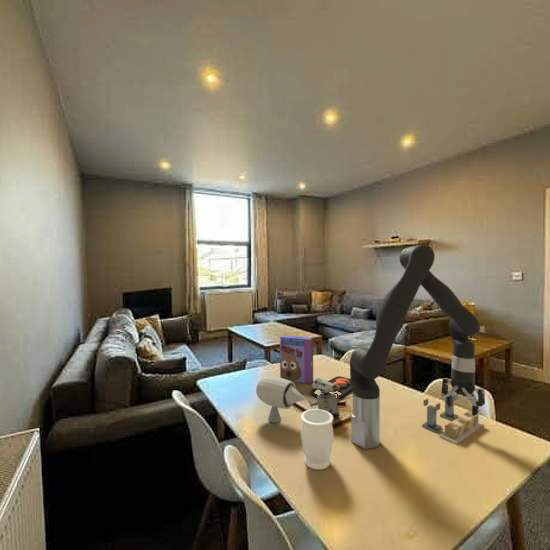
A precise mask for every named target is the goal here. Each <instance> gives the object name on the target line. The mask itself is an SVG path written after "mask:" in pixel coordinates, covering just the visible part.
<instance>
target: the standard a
mask: <svg viewBox="0 0 550 550" xmlns="http://www.w3.org/2000/svg"><path fill="white" fill-rule="evenodd" d="M423 406H424V407H426V421H425V422H424V423H422V424H421V427H422V428H424V429H426V430H428V431H431V432H433V433H436V432H438V431H439V430H441V429H442V425H440V424H438V423H437V411H439V410H441V403H440V402H438V403H436V404H435V405H431V404H430V405H429V399H428V398H425V399H424V400H423Z"/></svg>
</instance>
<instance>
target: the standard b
mask: <svg viewBox="0 0 550 550" xmlns="http://www.w3.org/2000/svg"><path fill="white" fill-rule="evenodd" d="M458 395H459V394H457V393H454V394H453V395H452V396H453V404H452V406H451V407H449V406H448V405H447V396H446V395H445V394H443V393H442V392H441V397H443V398H444V397H445V398H444V412H442V413H440V414H439V416H440V418H441V417H442V418H443V419H447V420H449V421H450V422H452V421H454V420H455V419H457V418H458V417H460V416H459V414H456V413H455V401H457V400H459V399H458V398H459V397H458Z"/></svg>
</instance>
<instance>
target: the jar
mask: <svg viewBox="0 0 550 550" xmlns="http://www.w3.org/2000/svg"><path fill="white" fill-rule="evenodd" d="M300 419H301V426H300V427H301V429H300V439H301V445H302V451H303V454H304V459H303V461H304V463H305V465H306V466H307V467H309V469H312V470H316V471H317V470H324V469H326V468H328V467H329V466H330V465H331V459H330V457H331V454H332V452H333V451H332V450H333V444H334V427H333V422H334V415H332V414H331V413H329V412H327V411H325V410H321V409H318V408H311V409H307V410H305V411H303V412H302V413H301V414H300Z"/></svg>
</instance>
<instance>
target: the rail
mask: <svg viewBox="0 0 550 550" xmlns="http://www.w3.org/2000/svg"><path fill="white" fill-rule="evenodd" d="M478 422H479V413H478V414H477V415H475V416H473V415H472V410H471V411H470V410H467V412H465V413H463V414H461V415H460V416H459V417H458V418H457V419H455V420H454V421H450V422H449V423H447V424H445V425H444V432H445V436H448V437H450V438H452V439H457V438H458V437H459V436H461V435H462V434H464V433H465V432H467V431H468V430H469V429H471V428H472V427H474V426H475V425H476V424H478Z"/></svg>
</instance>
